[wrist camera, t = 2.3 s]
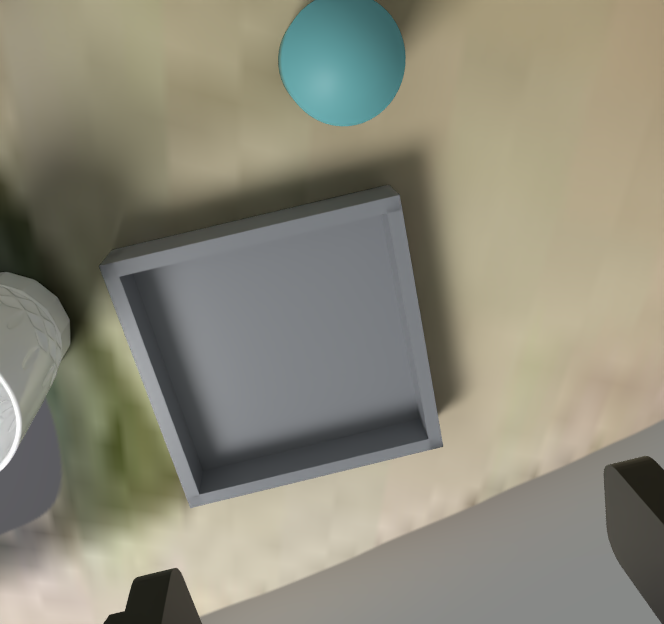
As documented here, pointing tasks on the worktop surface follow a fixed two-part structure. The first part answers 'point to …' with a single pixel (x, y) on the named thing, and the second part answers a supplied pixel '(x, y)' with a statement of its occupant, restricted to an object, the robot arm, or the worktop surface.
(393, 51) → the teal capsule
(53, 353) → the white cup
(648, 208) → the worktop surface
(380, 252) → the tray
